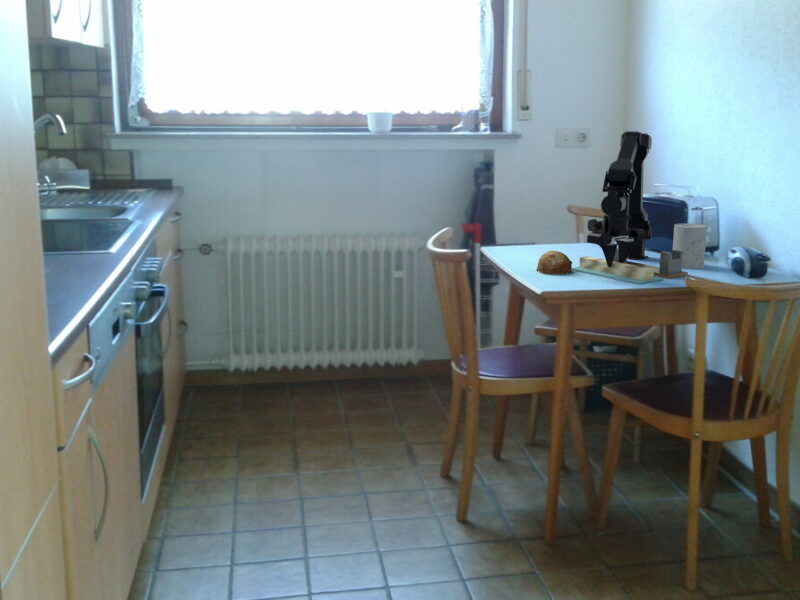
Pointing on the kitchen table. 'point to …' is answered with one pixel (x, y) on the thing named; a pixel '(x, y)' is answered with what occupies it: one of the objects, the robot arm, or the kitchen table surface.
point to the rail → (617, 268)
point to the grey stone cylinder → (690, 244)
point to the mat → (614, 276)
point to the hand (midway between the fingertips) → (615, 266)
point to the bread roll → (554, 263)
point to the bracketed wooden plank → (663, 264)
